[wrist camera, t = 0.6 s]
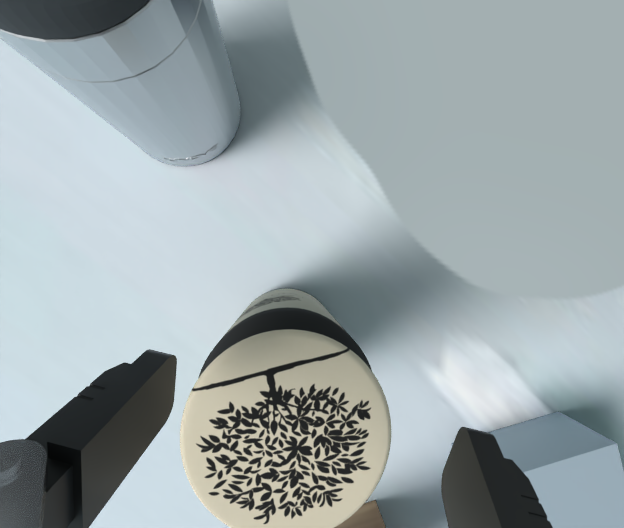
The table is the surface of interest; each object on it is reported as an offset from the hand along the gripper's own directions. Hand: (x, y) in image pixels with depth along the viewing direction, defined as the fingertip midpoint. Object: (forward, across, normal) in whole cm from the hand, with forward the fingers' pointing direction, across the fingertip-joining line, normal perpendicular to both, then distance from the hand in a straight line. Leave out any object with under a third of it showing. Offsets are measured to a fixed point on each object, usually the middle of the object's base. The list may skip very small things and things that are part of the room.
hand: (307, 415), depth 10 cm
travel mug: (+19, +3, +9) cm, 21 cm away
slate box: (+19, -19, +18) cm, 32 cm away
